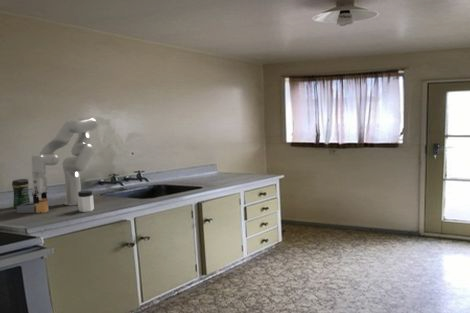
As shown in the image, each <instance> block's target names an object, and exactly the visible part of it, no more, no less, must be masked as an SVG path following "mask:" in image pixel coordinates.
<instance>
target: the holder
mask: <svg viewBox="0 0 470 313" xmlns="http://www.w3.org/2000/svg"><path fill="white" fill-rule="evenodd" d="M15 209H16V214H27V213H36V203H33V202H31V201H30V202H29V203H24V204H21V205H19V206H17V207H16V208H15Z"/></svg>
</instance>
